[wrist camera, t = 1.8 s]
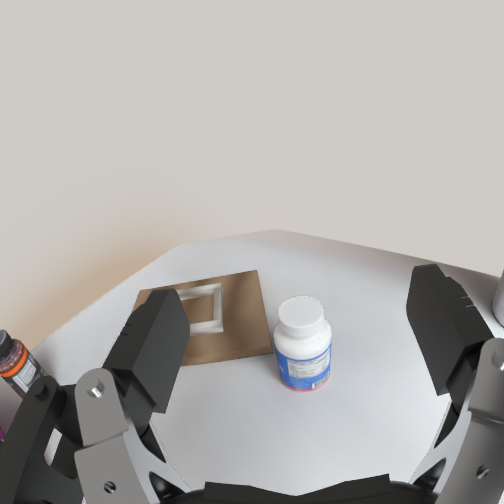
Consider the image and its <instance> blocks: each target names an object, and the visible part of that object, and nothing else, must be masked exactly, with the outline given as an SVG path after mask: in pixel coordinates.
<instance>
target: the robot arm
mask: <svg viewBox="0 0 504 504" xmlns="http://www.w3.org/2000/svg"><path fill="white" fill-rule="evenodd" d="M492 309H493V313H494V315H495V317H496V319H497V320H498V321H499V323H500V324H501V325H502V326H503V327H504V271H503V274H502V277H501V280H500V283H499V285H498V288H497V291H496V294H495V296H494V299H493V302H492ZM406 311H407V317H408V320H409V323H410V325H411V327H412V330H413V332H414V334H415V337H416V339H417V342H418V344H419V347H420V349H421V352H422V354H423V357H424V360H425V362H426V365H427V368H428V370H429V373H430V376H431V379H432V381H433V384H434V387H435V390H436V393H437V396H439V395H443V394H446V393H450V396H451V400H450V401H449V403H448V406H447V408H446V411H445V414H444V416H443V419H442V421H441V424H440V426H439V429H438V431H437V433H436V436H435V438H434V440H433V442H432V445H431V447H430V449H429V451H428V453H427V454H426V456H425V457H424V459H423V460H422V461H421V463H420V464H419V466H418V467H417V469H416V470H415V472H414V474H413V475H412V477H411V479H410V481H409V482H408V483H405V482H399V481H390V479H389V474H384V475H380V476H375V477H369V478H364V479H358V480H351V481H345V482H342V483H339V484H336V485H333V486H330V487H327V488H324V489H321V490H317V491H314V492H311V493H307V494H303V495H299V496H292V495H287V494H282V493H277V492H273V491H268V490H264V489H260V488H256V487H253V486H249V485H234V484H222V483H213V482H205V488H204V489H200V490H195V491H191V490H190V488H189V487H188V485H187V483H186V482H185V480H184V479H183V478H182V476H181V475H180V474H179V473H178V472H177V471H176V469H175V468H174V466H173V465H172V463H171V461H170V459H169V457H168V455H167V453H166V451H165V449H164V447H163V445H162V443H161V440H160V438H159V436H158V434H157V432H156V429H155V427H154V425H153V423H152V421H151V420H150V418H151V415H152V412H157V413H164V414H165V412H166V409H167V406H168V402H169V399H170V396H171V393H172V390H173V386H174V383H175V380H176V377H177V374H178V371H179V368H180V365H181V362H182V358H183V355H184V352H185V349H186V346H187V343H188V340H189V337H190V324H189V320H188V318H187V315H186V313H185V310H184V308H183V305H182V303H181V300H180V297H179V295H178V292H177V291H176V290H175V289H174V288H167V289H154V290H152V291H151V293H150V295H149V296H148V298H147V300H146V302H145V304H141V305H140V306H139V307H138V308H137V309H136V310H135V311H133V312H132V313H131V315H130V317H129V318H128V320H127V322H126V324H125V327H123V329H122V331H121V333H120V335H119V336H118V338H117V340H116V342H115V344H114V345H113V347H112V349H111V351H110V353H109V355H108V357H107V359H106V360H105V362H104V364H103V366H102V368H97V369H93V370H90V371H88V372H87V373H85V374H84V375H83V376H82V377H81V378H80V379H79V381H78V382H77V384H73V385H65V386H60V385H59V384H58V383H57V381H56V380H55V379H54V378H53V377H51V376H48V375H46V376H41V377H39V378H38V379H36V380H35V381H34V382H33V383H32V384H31V386H30V387H29V389H28V391H27V393H26V395H25V397H24V399H23V401H22V403H21V405H20V407H19V409H18V411H17V413H16V415H15V417H14V419H13V422H12V424H11V426H10V428H9V431H8V433H7V435H6V438H5V440H4V442H3V445H2V447H1V450H0V504H82V500H83V496H84V497H85V500H86V503H87V504H498V503H499V500H500V498H501V495H502V493H503V490H504V339H502V338H495V337H494V336H493V334H492V332H491V331H490V329H489V327H488V326H487V324H486V322H485V321H484V319H483V318H482V316H481V314H480V313H479V311H478V310H477V308H476V307H475V306H474V304H473V302H472V301H471V299H470V298H468V295H467V293H466V292H465V290H464V289H463V288H462V286H461V285H460V284H459V283H457V282H456V281H455V280H453V279H452V278H451V277H446V276H445V275H444V274H443V272H442V271H441V270H440V268H439V267H438V266H437V265H436V264H428V265H421V266H415V267H414V269H413V272H412V277H411V283H410V288H409V293H408V298H407V304H406ZM54 428H55V429H57V430H58V431H59V432H60V433H61V434H62V437H61V439H60V442H59V445H58V447H57V450H56V453H55V456H54V459H53V461H52V464H51V465H50V466H49V465H48V464H47V463H46V461H45V459H44V453H45V450H46V447H47V444H48V442H49V439H50V436H51V434H52V431H53V429H54Z"/></svg>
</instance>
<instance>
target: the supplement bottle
mask: <svg viewBox="0 0 504 504" xmlns="http://www.w3.org/2000/svg"><path fill="white" fill-rule="evenodd" d="M0 375H1V376H2V377H3V379H4V380H5V381H6V382H7V383H8V384H9V385H10V386H11V387H12V388H13V389H14V390H15V391H16V392H17V393H18V395H19V396H21V398H22V399H24V397H25V395H26V393H27V391H28V389H29V387H30V386H31V384H32V383H33V382H34V381H35V380H36V379H38V378H39V377H41V376H46V375H48V374H47V373H46V372H45V371H44V370H43V368H42V367H41V366H40V365H39V364H38V362H37V361H36V360H35V359H34V357H33V356H32V355H31V354H30V352H29V351H28V350H27V348H26V347H25V346H24V345H23V343H21V341H19V340H17V339H11V337H10V336H9V335H8V333H7V332H6V331H5V330H0ZM48 376H49V375H48Z"/></svg>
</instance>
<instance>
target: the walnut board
mask: <svg viewBox="0 0 504 504" xmlns="http://www.w3.org/2000/svg"><path fill="white" fill-rule="evenodd" d="M167 288H174V289H175V290H176V291H177V292H178V295H179V297H180V300H181V303H182V305H183V308H184V310H185V313H186V315H187V318H188V320H189V324H190V337H189V340H188V343H187V346H186V349H185V352H184V355H183V358H182V362H181V365H180V366H187V365H196V364H204V363H212V362H219V361H226V360H233V359H240V358H246V357H252V356H258V355H263V354H269V353H273V352H272V346H271V341H270V336H269V330H268V325H267V320H266V315H265V309H264V304H263V299H262V293H261V288H260V283H259V278H258V272H257V270H253V271H247V272H242V273H237V274H231V275H226V276H220V277H215V278H209V279H204V280H198V281H193V282H187V283H181V284H176V285H170V286H164V287H158V288H152V289H146V290H141V291H140V292H139V295H138V297H137V300H136V303H135V305H134V308H133V311H135V310H136V309H137V308H138V307H139V306H140V305H141V304H145V302H146V300H147V298H148V296H149V295H150V293H151V291H152V290H154V289H167ZM133 311H132V312H133Z"/></svg>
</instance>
